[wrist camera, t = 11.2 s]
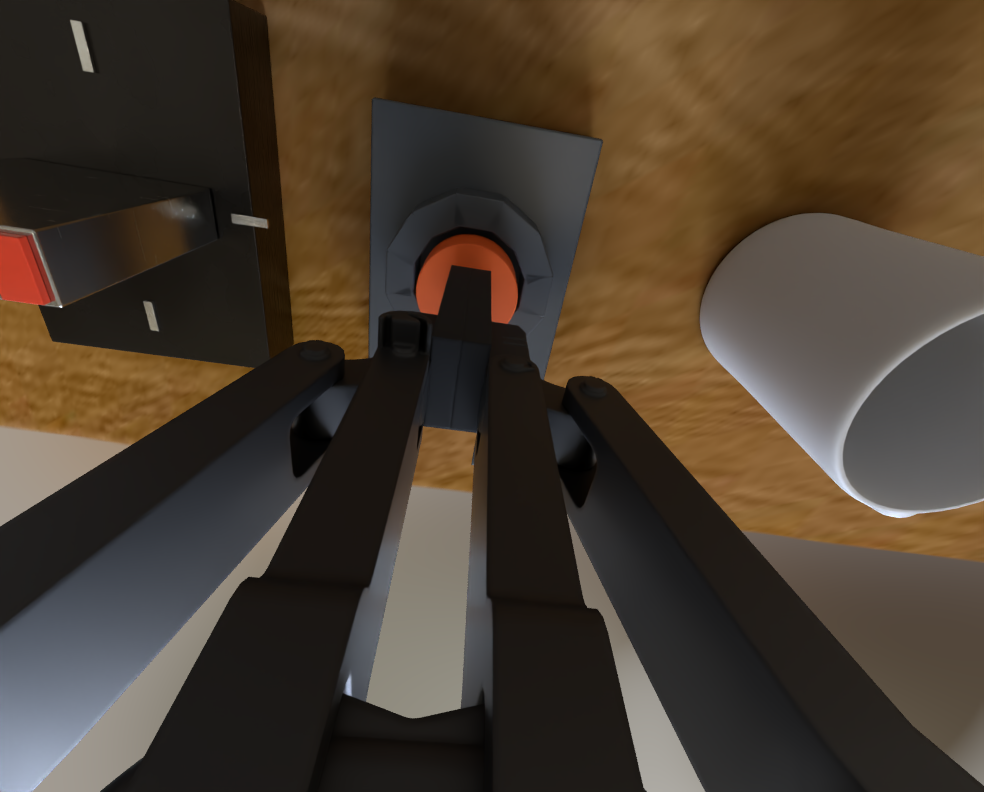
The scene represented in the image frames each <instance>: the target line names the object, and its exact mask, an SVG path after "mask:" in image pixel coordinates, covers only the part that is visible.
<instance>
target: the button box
mask: <svg viewBox="0 0 984 792" xmlns="http://www.w3.org/2000/svg"><path fill="white" fill-rule="evenodd" d="M602 143H603V140H602V139H599V138H593V137H588V136H582V135H577V134H572V133H566V132H561V131H555V130H550V129H544V128H539V127H534V126H528V125H523V124H517V123H512V122H506V121H501V120H495V119H490V118H485V117H479V116H474V115H468V114H463V113H457V112H452V111H447V110H441V109H436V108H430V107H425V106H419V105H414V104H408V103H403V102H398V101H392V100H387V99H381V98H376V97H374V98H373V99H372V134H371V208H370V282H369V356H368V358H372V357H373V356H374V354H375V352H376V350H377V348H378V317H379V316H380V315H381V314H383V313H386V312H389V311H398V310H401V311H415V312H420V310H419V307H418V303H417V298H416V284H417V279H418V276H419V273H420V271H421V269H422V267H423V265H424V262H425V260H426V258H427V256H428V255H429V253H430V252H431V251H432V250H433V248H434V247H435V246H436V245H438V244H439V243H440V242H442V241H443V240H445V239H447V238H449V237H452V236H455V235H460V234H476V235H480V236H483V237H486V238H488V239H490V240H492V241H494V242H495V243H496V244H498V245H499V246H500V247H501V248H502V249H503V250H504V251H505V252H506V254H507V255H508V257H509V258H510V260H511V262H512V264H513V267H514V271H515V276H516V282H517V288H518V300H517V305H516V309H515V312H514V314H513V316H512V318H511V320H510V321H509V322H508V324H512V325H518V326H519V327H520V328H521V329H522V330H523V331H524V332H525V333H526V338H527V344H528V350H529V356H530V360H531V361H532V362H534V363H535V364H536V365H537V367H538V368H539V372H540V377H541V379H542V380H544V377H545V373H546V369H547V365H548V361H549V357H550V353H551V349H552V345H553V341H554V336H555V332H556V328H557V324H558V320H559V316H560V312H561V308H562V304H563V300H564V296H565V292H566V288H567V284H568V280H569V276H570V272H571V268H572V264H573V260H574V256H575V252H576V248H577V244H578V240H579V236H580V232H581V228H582V224H583V220H584V216H585V212H586V208H587V204H588V200H589V196H590V192H591V188H592V184H593V180H594V176H595V172H596V168H597V164H598V160H599V156H600V152H601V147H602Z"/></svg>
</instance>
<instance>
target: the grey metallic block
mask: <svg viewBox="0 0 984 792" xmlns="http://www.w3.org/2000/svg"><path fill="white" fill-rule="evenodd" d="M217 239H218V238H217V231H216V225H215V219H214V212H213V206H212V200H211V193H210V189H208V188H203V187H197V186H191V185H185V184H179V183H172V182H166V181H160V180H154V179H148V178H142V177H136V176H129V175H123V174H117V173H111V172H105V171H99V170H93V169H86V168H80V167H74V166H68V165H62V164H56V163H50V162H43V161H37V160H31V159H25V158H7V159H0V299H1V300H8V301H16V302H23V303H30V304H38V305H45V306H52V307H60V308H61V307H64V306H67V305H69V304H71V303H73V302H76V301H78V300H80V299H83V298H85V297H87V296H90V295H92V294H94V293H96V292H99V291H101V290H103V289H106V288H108V287H110V286H113V285H115V284H117V283H119V282H122V281H124V280H126V279H129V278H131V277H133V276H136V275H138V274H140V273H142V272H145V271H147V270H149V269H152V268H154V267H156V266H159V265H161V264H163V263H166V262H168V261H170V260H172V259H175V258H177V257H179V256H182V255H184V254H186V253H189V252H191V251H193V250H195V249H198V248H200V247H202V246H205V245H207V244H209V243H212V242H214V241H216V240H217Z"/></svg>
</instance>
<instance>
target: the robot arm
mask: <svg viewBox="0 0 984 792" xmlns="http://www.w3.org/2000/svg"><path fill="white" fill-rule="evenodd" d="M423 421H424V423H423ZM423 426H426V427H434V428H442V429H450V430H458V431H466V432H474V433H477V435H476V441H475V447H474V453H473V459H472V465H474V475H473V494H472V495H473V496H472V515H471V533H470V552H469V571H468V590H467V611H466V630H465V648H464V668H463V686H462V700H461V709H458V710H453V711H449V712H444V713H440V714H435V715H431V716H426V717H422V718H413V719H412V718H406V717H403V716H401V715H398V714H396V713H393V712H391V711H388V710H385V709H383V708H380V707H378V706H375V705H372V704H370V703H367V702H366V698H367V692H368V687H369V681H370V677H371V672H372V668H373V663H374V658H375V654H376V649H377V644H378V640H379V635H380V631H381V626H382V621H383V617H384V612H385V607H386V602H387V598H388V593H389V588H390V584H391V579H392V574H393V569H394V565H395V560H396V556H397V551H398V546H399V542H400V537H401V532H402V528H403V523H404V518H405V514H406V509H407V504H408V500H409V495H410V490H411V486H412V481H413V476H414V472H415V467H416V462H417V458H418V453H419V448H420V444H421V439H422V431H423ZM477 428H478V429H477ZM307 487H308V488H307ZM306 488H307V490H306V492H305V494H304V496H303V498H302V500H301V502H300V504H299V506H298V508H297V510H296V512H295V514H294V516H293V518H292V520H291V522H290V524H289V526H288V528H287V530H286V532H285V534H284V536H283V538H282V540H281V542H280V544H279V546H278V548H277V550H276V552H275V554H274V556H273V558H272V560H271V562H270V564H269V566H268V568H267V569H266V571H265V573H264V574H263V575H262V576H261V577H260V578H255V577H248V578H247V579H245V580H244V581H243V582H242V583H241V584H240V585H239V586H238V588H237V589H236V591H235V592H234V594H233V595H232V597H231V598H230V600H229V602H228V604H227V605H226V607H225V609H224V611H223V613H222V615H221V616H220V618H219V620H218V622H217V624H216V626H215V627H214V629H213V631H212V633H211V635H210V637H209V639H208V640H207V642H206V644H205V646H204V648H203V649H202V651H201V653H200V655H199V657H198V659H197V661H196V662H195V664H194V666H193V668H192V670H191V672H190V673H189V675H188V677H187V679H186V681H185V683H184V684H183V686H182V688H181V690H180V692H179V694H178V695H177V697H176V699H175V701H174V703H173V705H172V706H171V708H170V710H169V712H168V714H167V716H166V718H165V719H164V721H163V723H162V725H161V727H160V728H159V730H158V732H157V734H156V736H155V738H154V740H153V741H152V743H151V745H150V747H149V749H148V750H147V752H146V754H145V756H144V757H143V758H142V759H140V760H139V761H138V762H136V763H135V764H134V765H133V766H131V767H130V768H129V769H127V770H126V771H125V772H123V773H122V774H121V775H120V776H118V777H117V778H116V779H115V780H114V781H112V782H111V783H110V784H109V785H107V786H106V787H105V788H104V789H103V790H101V791H100V792H647V791H646V790H645V789H644V788H643V784H642V780H641V775H640V771H639V767H638V762H637V757H636V753H635V749H634V745H633V740H632V736H631V731H630V727H629V722H628V718H627V714H626V709H625V705H624V701H623V696H622V692H621V688H620V683H619V679H618V674H617V670H616V666H615V661H614V657H613V653H612V648H611V644H610V639H609V635H608V631H607V628H606V625H605V622H604V619H603V616H602V615H601V614H600V612H599V611H598V610H597V609H591V608H587V606H586V605H585V603H584V599H583V595H582V590H581V585H580V580H579V575H578V569H577V564H576V559H575V554H574V549H573V544H572V539H571V534H570V528H569V523H568V518H567V514H568V516H569V518H570V520H571V522H572V524H573V526H574V528H575V530H576V532H577V534H578V536H579V538H580V540H581V542H582V545H583V547H584V549H585V551H586V552H587V555H588V557H589V559H590V561H591V563H592V565H593V567H594V569H595V571H596V572H597V575H598V577H599V579H600V581H601V583H602V585H603V587H604V589H605V591H606V593H607V595H608V597H609V599H610V601H611V603H612V605H613V607H614V609H615V610H616V613H617V615H618V617H619V619H620V621H621V623H622V625H623V627H624V629H625V631H626V633H627V635H628V637H629V639H630V641H631V643H632V645H633V647H634V649H635V651H636V653H637V655H638V657H639V659H640V661H641V663H642V665H643V667H644V669H645V671H646V673H647V675H648V677H649V679H650V682H651V683H652V686H653V687H654V690H655V691H656V693H657V696H658V698H659V700H660V701H661V704H662V706H663V708H664V710H665V712H666V714H667V716H668V718H669V720H670V722H671V724H672V726H673V728H674V730H675V732H676V734H677V736H678V738H679V740H680V742H681V744H682V746H683V748H684V750H685V752H686V754H687V756H688V758H689V760H690V762H691V764H692V766H693V768H694V770H695V772H696V774H697V776H698V778H699V780H700V782H701V784H702V786H703V788H704V789H705V791H706V792H984V786H983V785H982V784H981V783H980V782H978V781H977V780H976V779H975V778H974V777H972V776H971V775H970V774H969V773H968V772H967V771H965V770H964V769H963V768H962V767H961V766H960V765H958V764H957V763H956V762H955V761H953V760H952V759H951V758H950V757H949V756H948V755H946V754H945V753H944V752H943V751H942V750H940V749H939V748H938V747H937V746H936V745H935V744H934V743H932V742H931V741H930V740H929V739H928V738H926V737H925V736H924V735H923V734H922V733H920V732H919V731H918V730H917V729H916V728H915V727H913V726H912V725H911V723H910V722H909V721H908V720H907V719H906V718H905V717H904V715H903V714H902V713H901V712H900V711H899V710H898V709H897V708H896V706H895V705H894V704H893V703H892V702H891V701H890V700H889V698H888V697H887V696H886V695H885V694H884V693H883V692H882V690H881V689H880V688H879V687H878V686H877V685H876V684H875V683H874V682H873V680H872V679H871V678H870V677H869V676H868V675H867V673H866V672H865V671H864V670H863V669H862V668H861V667H860V666H859V664H858V663H857V662H856V661H855V660H854V659H853V658H852V656H851V655H850V654H849V653H848V652H847V651H846V650H845V648H844V647H843V646H842V645H841V644H840V643H839V642H838V641H837V639H836V638H835V637H834V636H833V635H832V634H831V633H830V631H829V630H828V629H827V628H826V627H825V626H824V625H823V623H822V622H821V621H820V620H819V619H818V618H817V617H816V616H815V614H814V613H813V612H812V611H811V610H810V609H809V608H808V606H806V604H805V603H804V602H803V601H802V600H801V598H800V597H799V596H798V595H797V594H796V593H795V592H794V591H793V589H792V588H791V587H790V586H789V585H788V584H787V583H786V582H785V580H784V579H783V578H782V577H781V576H780V575H779V574H778V572H777V571H776V570H775V569H774V568H773V567H772V566H771V564H770V563H769V562H768V561H767V560H766V559H765V558H764V557H763V555H761V553H760V552H759V551H758V550H757V549H756V547H755V546H754V545H753V544H752V543H751V542H750V541H749V539H748V538H747V537H746V536H745V535H744V534H743V533H742V531H741V530H740V529H739V528H738V527H737V526H736V525H735V524H734V522H733V521H732V520H731V519H730V518H729V517H728V516H727V514H726V513H725V512H724V511H723V510H722V509H721V508H720V507H719V505H718V504H717V503H716V502H715V501H714V500H713V499H712V497H711V496H710V495H709V494H708V493H707V492H706V491H705V489H704V488H703V487H702V486H701V485H700V484H699V483H698V482H697V480H696V479H695V478H694V477H693V476H692V475H691V474H690V472H689V471H688V470H687V469H686V468H685V467H684V466H683V464H682V463H681V462H680V461H679V460H678V459H677V458H676V457H675V455H674V454H673V453H672V452H671V451H670V450H669V449H668V447H667V446H666V445H665V444H664V443H663V442H662V441H661V440H660V438H659V437H658V436H657V435H656V434H655V433H654V432H653V430H652V429H651V428H650V427H649V426H648V425H647V424H646V422H645V421H644V420H643V419H642V418H641V417H640V416H639V415H638V413H637V412H636V411H635V410H634V409H633V408H632V407H631V405H630V404H629V403H628V402H627V401H626V400H625V399H624V397H623V396H622V395H621V394H620V393H619V392H618V391H617V390H616V389H615V388H614V387H613V386H612V385H610V384H609V383H607V382H605V381H603V380H602V379H599V378H596V377H592V376H589V377H587V376H577V377H573V378H571V379H569V380H568V383H567V385H566V388H563V387H560V386H557V385H554V384H551V383H548V382H546V381H544V380H542V379H541V377H540V372H539V368H538V367H537V365H536V364H535V363H534V362H532V361H531V360H530V356H529V350H528V344H527V338H526V333H525V332H524V331H523V330H522V329H521V328H520V327H519V326H518V325H512V324H505V323H498V322H492V317H491V271H488V270H481V269H475V268H469V267H462V266H456V265H451V268H450V272H449V275H448V279H447V283H446V286H445V290H444V293H443V297H442V301H441V304H440V308H439V311H438V315H435V314H428V313H421V312H415V311H401V310H398V311H389V312H386V313H383V314H381V315H380V316H379V317H378V348H377V350H376V352H375V354H374V356H373V357H372V358H367V359H357V360H345V354H344V350H343V349H342V348H341V347H339V346H338V345H335V344H332V343H329V342H323V341H320V340H316V341H315V340H310V341H307V342H302V343H298V344H295V345H293V346H290V347H289V348H287V349H286V350H284V351H282V352H281V353H279V354H278V355H276V356H274V357H273V358H271V359H269V360H268V361H266V362H265V363H263V364H261V365H260V366H258V367H257V368H255V369H253V370H252V371H250V372H249V373H247V374H245V375H244V376H242V377H240V378H239V379H237V380H236V381H234V382H232V383H231V384H229V385H228V386H226V387H224V388H223V389H221V390H219V391H218V392H216V393H215V394H213V395H211V396H210V397H208V398H207V399H205V400H203V401H202V402H200V403H199V404H197V405H195V406H194V407H192V408H190V409H189V410H187V411H186V412H184V413H182V414H181V415H179V416H178V417H176V418H174V419H173V420H171V421H170V422H168V423H166V424H165V425H163V426H161V427H160V428H158V429H157V430H155V431H153V432H152V433H150V434H149V435H147V436H145V437H144V438H142V439H141V440H139V441H137V442H136V443H134V444H132V445H131V446H129V447H128V448H126V449H124V450H123V451H121V452H120V453H118V454H116V455H115V456H113V457H112V458H110V459H108V460H107V461H105V462H104V463H102V464H100V465H99V466H97V467H95V468H94V469H93V470H91V471H89V472H87V473H86V474H84V475H83V476H81V477H79V478H78V479H76V480H74V481H73V482H71V483H70V484H68V485H66V486H65V487H63V488H62V489H60V490H59V491H57V492H55V493H54V494H52V495H50V496H49V497H47V498H45V499H44V500H42V501H41V502H39V503H37V504H36V505H34V506H33V507H31V508H29V509H28V510H26V511H25V512H23V513H21V514H20V515H18V516H16V517H15V518H13V519H12V520H10V521H8V522H7V523H5V524H4V525H2V526H0V792H32V791H33V790H34V789H35V788H36V787H37V786H38V785H39V784H40V783H41V782H42V781H43V780H44V779H45V777H47V775H48V774H49V773H50V772H51V771H52V770H53V769H54V768H55V767H56V766H57V765H58V764H59V763H60V762H61V761H62V760H63V759H64V758H65V757H66V756H67V755H68V753H69V752H70V751H71V750H72V749H73V748H74V747H75V746H76V745H77V744H78V743H79V742H80V740H81V739H82V738H83V737H84V736H85V735H86V734H87V733H88V732H89V730H90V729H91V728H92V727H93V726H94V725H95V724H96V723H97V722H98V720H99V719H100V718H101V717H102V716H103V715H104V714H105V713H106V711H107V710H108V709H109V708H110V707H111V706H112V705H113V704H114V703H115V701H116V700H117V699H118V698H119V697H120V696H121V695H122V694H123V692H124V691H125V690H126V689H127V688H128V687H129V686H130V685H131V684H132V682H133V681H134V680H135V679H136V678H137V677H138V676H139V675H140V673H141V672H142V671H143V670H144V669H145V668H146V667H147V665H148V664H149V663H150V662H151V661H152V660H153V659H154V658H155V656H157V654H158V653H159V652H160V651H161V650H162V649H163V648H164V647H165V646H166V644H167V643H168V642H169V641H170V640H171V639H172V638H173V637H174V636H175V634H176V633H177V632H178V631H179V630H180V629H181V628H182V627H183V625H184V624H185V623H186V622H187V621H188V620H189V619H190V618H191V617H192V615H193V614H194V613H195V612H196V611H197V610H198V609H199V608H200V607H201V605H202V604H203V603H204V602H205V601H206V600H207V599H208V598H209V597H210V595H211V594H212V593H213V592H214V591H215V590H216V588H218V586H219V585H220V584H221V583H222V582H223V581H224V580H225V579H226V578H227V576H228V575H229V574H230V573H231V572H232V571H233V570H234V568H235V567H236V566H237V565H238V564H239V563H240V562H241V561H242V560H243V558H244V557H245V556H246V555H247V554H248V553H249V552H250V551H251V550H252V548H253V547H254V546H255V545H256V544H257V543H258V542H259V541H260V540H261V538H262V537H263V536H264V535H265V534H266V533H267V532H268V531H269V529H270V528H271V527H272V526H273V525H274V524H275V523H276V522H277V521H278V519H279V518H280V517H281V516H282V515H283V514H284V513H285V512H286V511H287V509H288V508H289V507H290V506H291V505H292V504H293V503H294V501H296V499H297V498H298V497H299V496H300V495H301V494H302V492H303V491H304V490H305V489H306Z"/></svg>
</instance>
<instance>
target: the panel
mask: <svg viewBox="0 0 984 792" xmlns="http://www.w3.org/2000/svg"><path fill="white" fill-rule="evenodd" d="M7 158H25V159H31V160H37V161H43V162H50V163H56V164H62V165H68V166H74V167H80V168H86V169H93V170H99V171H105V172H111V173H117V174H123V175H129V176H136V177H142V178H148V179H154V180H160V181H166V182H172V183H179V184H185V185H191V186H197V187H203V188H208V189H210V193H211V200H212V206H213V212H214V219H215V225H216V231H217V238H218V239H217V240H216V241H214V242H212V243H209V244H207V245H205V246H202V247H200V248H198V249H195V250H193V251H191V252H189V253H186V254H184V255H182V256H179V257H177V258H175V259H172V260H170V261H168V262H166V263H163V264H161V265H159V266H156V267H154V268H152V269H149V270H147V271H145V272H142V273H140V274H138V275H136V276H133V277H131V278H129V279H126V280H124V281H122V282H119V283H117V284H115V285H113V286H110V287H108V288H106V289H103V290H101V291H99V292H96V293H94V294H92V295H90V296H87V297H85V298H83V299H80V300H78V301H76V302H73V303H71V304H69V305H67V306H64V307H61V308H60V307H52V306H45V305H38V306H39V308H40V311H41V313H42V316H43V318H44V321H45V323H46V326H47V329H48V331H49V334H50V336H51V339H52V341H54V342H61V343H69V344H77V345H84V346H92V347H100V348H107V349H115V350H122V351H130V352H138V353H145V354H153V355H161V356H168V357H176V358H184V359H191V360H199V361H206V362H214V363H222V364H229V365H237V366H245V367H252V368H257V367H258V366H260V365H261V364H263V363H265V362H266V361H268V360H269V359H271V358H273V357H274V356H276V355H278V354H279V353H281V352H282V351H284V350H286V349H287V348H289V347H290V346H292V345H293V332H292V320H291V308H290V296H289V284H288V272H287V260H286V248H285V236H284V223H283V211H282V199H281V187H280V175H279V163H278V151H277V139H276V127H275V115H274V102H273V90H272V78H271V66H270V54H269V42H268V30H267V18H266V16H265V15H263V14H261V13H259V12H257V11H255V10H253V9H251V8H248V7H246V6H244V5H242V4H240V3H238V2H236V1H234V0H0V159H7Z"/></svg>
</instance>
